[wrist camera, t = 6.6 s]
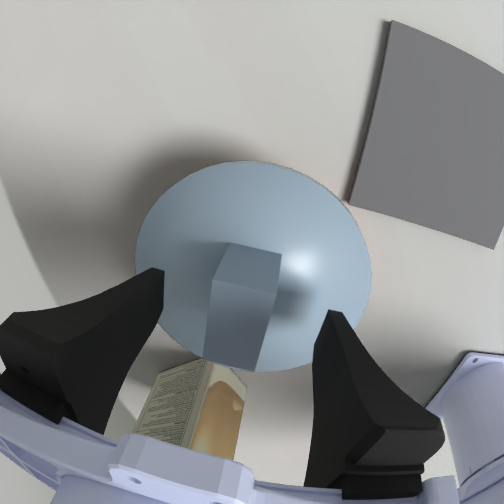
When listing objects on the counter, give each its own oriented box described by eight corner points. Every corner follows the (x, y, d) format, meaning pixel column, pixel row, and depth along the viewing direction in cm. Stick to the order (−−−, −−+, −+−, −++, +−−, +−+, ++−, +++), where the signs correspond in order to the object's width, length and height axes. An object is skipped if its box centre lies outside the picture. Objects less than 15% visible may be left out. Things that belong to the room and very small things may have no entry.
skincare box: (190, 402, 25) (147, 525, 14) (157, 370, 24) (98, 498, 13) (252, 387, 23) (222, 534, 12) (220, 350, 22) (169, 510, 11)
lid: (403, 198, 12) (434, 230, 9) (325, 379, 17) (326, 430, 14) (146, 140, 12) (100, 156, 9) (141, 335, 18) (115, 378, 14)
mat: (534, 97, 11) (537, 98, 11) (490, 246, 16) (493, 249, 15) (390, 21, 11) (392, 19, 11) (347, 202, 16) (349, 204, 16)
